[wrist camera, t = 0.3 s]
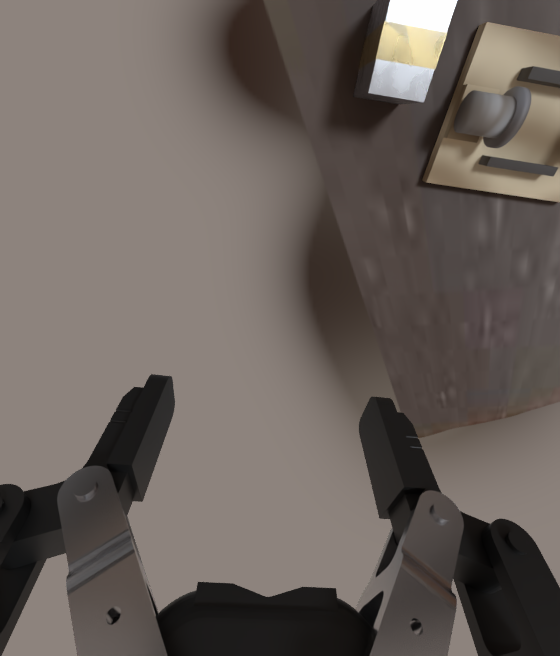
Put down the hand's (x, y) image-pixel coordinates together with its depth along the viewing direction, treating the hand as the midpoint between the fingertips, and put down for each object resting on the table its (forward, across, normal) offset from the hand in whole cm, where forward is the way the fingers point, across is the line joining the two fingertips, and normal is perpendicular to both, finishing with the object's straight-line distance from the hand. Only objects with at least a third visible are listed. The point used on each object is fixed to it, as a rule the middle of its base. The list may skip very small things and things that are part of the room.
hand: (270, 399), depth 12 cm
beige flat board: (+28, -23, -11) cm, 38 cm away
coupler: (+28, -8, -14) cm, 32 cm away
